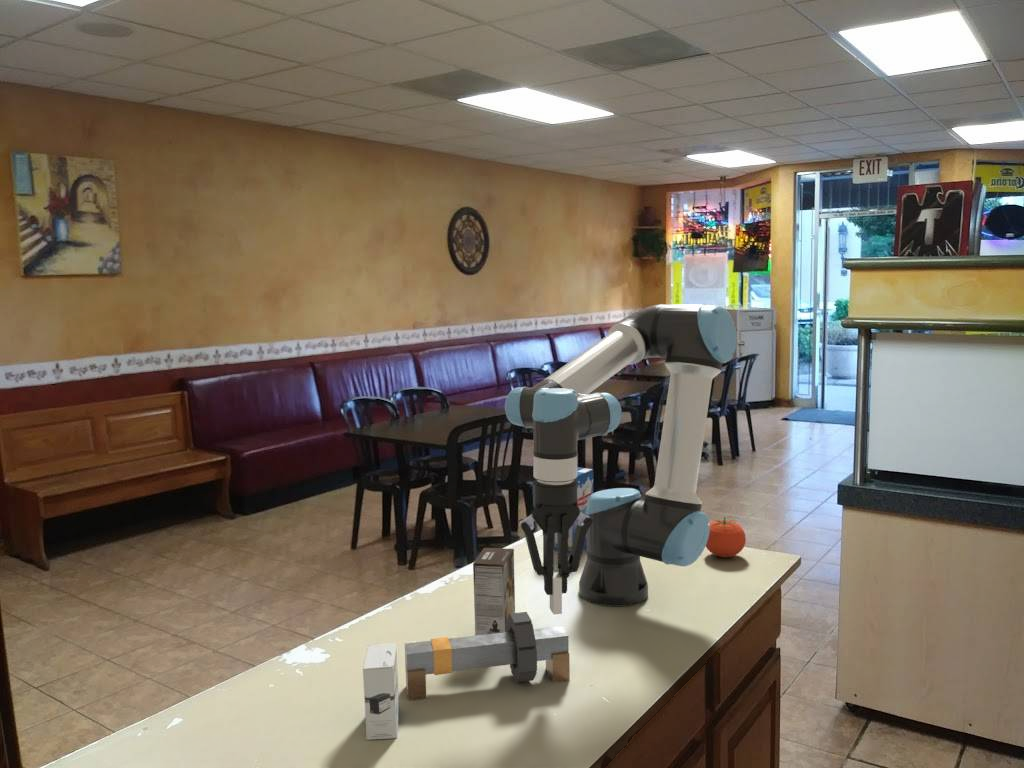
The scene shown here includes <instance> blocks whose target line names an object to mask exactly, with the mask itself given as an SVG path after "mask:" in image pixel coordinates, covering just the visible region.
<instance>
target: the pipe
mask: <svg viewBox="0 0 1024 768" xmlns="http://www.w3.org/2000/svg"><path fill="white" fill-rule="evenodd" d="M533 629H534V635H535V641H536V649H537V662H542V661H545V670H546V673H548V676H549V678H550V679H551V682H552V683H558V682H559V683H560V682H567V681H568V682H569V681H570V680H571V679H570V676H571V675H570V669H571V667H570V652H569V647H570V646H569V645H570V643H569V634H568V632H567V631H566V629H565V627H564V626H563V625H560V626H559V625H558V626H551V627H549V626H548V627H541V628H533ZM404 661H405V662H404V663H405V686H406V693H407V698H408V699H407V700H408V701H416V700H424V699H427V675H433V674H434V676H439V675H449V674H453V672H457V671H458V672H459V671H466V670H475V669H476V670H477V669H482V668H484V669H485V668H492V667H499V666H500V667H501V666H510V664H517V647H516V641H515V635H514V631H513V632H504V633H495V634H486V635H477V636H475V635H470V636H469V635H468V636H462V637H461V636H460V637H452V638H449V637H448V636H446V637H437V638H430V640H425V641H415V642H406V643H404Z"/></svg>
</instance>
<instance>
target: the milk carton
mask: <svg viewBox="0 0 1024 768" xmlns="http://www.w3.org/2000/svg"><path fill="white" fill-rule="evenodd" d="M575 480H576V481H577V505H578V507H579V509H580V512H581V513H582V514H586V511H587V500H588V498H589V496H590V495H591V494H593V493H594V469H593V468H588V467H587V468H586V467H580V466H577V478H576V479H575ZM576 521H577V519H576V520H575V522H574V523H573V525H572V526H571V528H570V529H569V538H568V555H570V551H571V547H572V543H573V539H574V534H575V530H576V526H577V523H576ZM584 550H587V533H586V537H585V541H584V546H583V550H582V551H584ZM553 551H554V552H558V539H557V533H554V541H553Z"/></svg>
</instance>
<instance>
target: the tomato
mask: <svg viewBox="0 0 1024 768" xmlns="http://www.w3.org/2000/svg"><path fill="white" fill-rule="evenodd" d="M709 524H710V532H709V537H708V541H707V544H706V546H705V548H706V549H707V550H708V551H709V552H710V553H711V554H713V555H715V556H716V557H720V558H731V557H734V556H736V555H738V554H739V553H740V552H742V550H743V549H744V547H745V545H746V542H747V541H746V534H745V531H744V529H743V528H742V526H741V525H740V524H738V523H737V522H736V521H735V520H733V519H730V520H729V519H726V517H724V518H723V519H714V520H713V521H712V522H709Z"/></svg>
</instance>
